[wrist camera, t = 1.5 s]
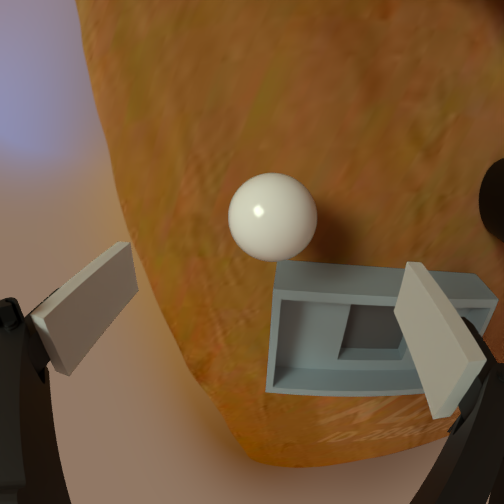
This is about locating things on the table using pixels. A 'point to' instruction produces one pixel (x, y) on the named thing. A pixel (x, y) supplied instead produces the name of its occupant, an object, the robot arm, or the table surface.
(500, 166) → the mug
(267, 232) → the lightbulb
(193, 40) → the table surface
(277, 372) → the socket box
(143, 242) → the table surface
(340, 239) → the table surface
